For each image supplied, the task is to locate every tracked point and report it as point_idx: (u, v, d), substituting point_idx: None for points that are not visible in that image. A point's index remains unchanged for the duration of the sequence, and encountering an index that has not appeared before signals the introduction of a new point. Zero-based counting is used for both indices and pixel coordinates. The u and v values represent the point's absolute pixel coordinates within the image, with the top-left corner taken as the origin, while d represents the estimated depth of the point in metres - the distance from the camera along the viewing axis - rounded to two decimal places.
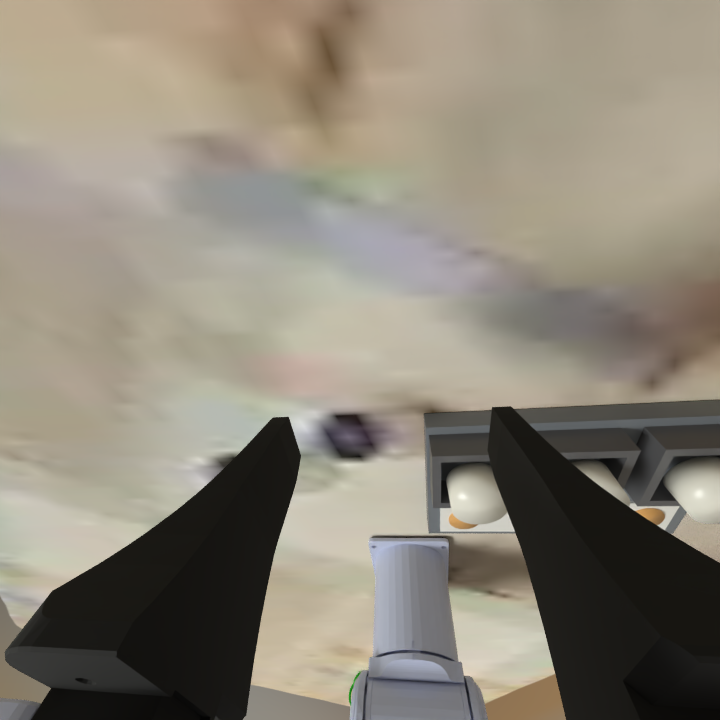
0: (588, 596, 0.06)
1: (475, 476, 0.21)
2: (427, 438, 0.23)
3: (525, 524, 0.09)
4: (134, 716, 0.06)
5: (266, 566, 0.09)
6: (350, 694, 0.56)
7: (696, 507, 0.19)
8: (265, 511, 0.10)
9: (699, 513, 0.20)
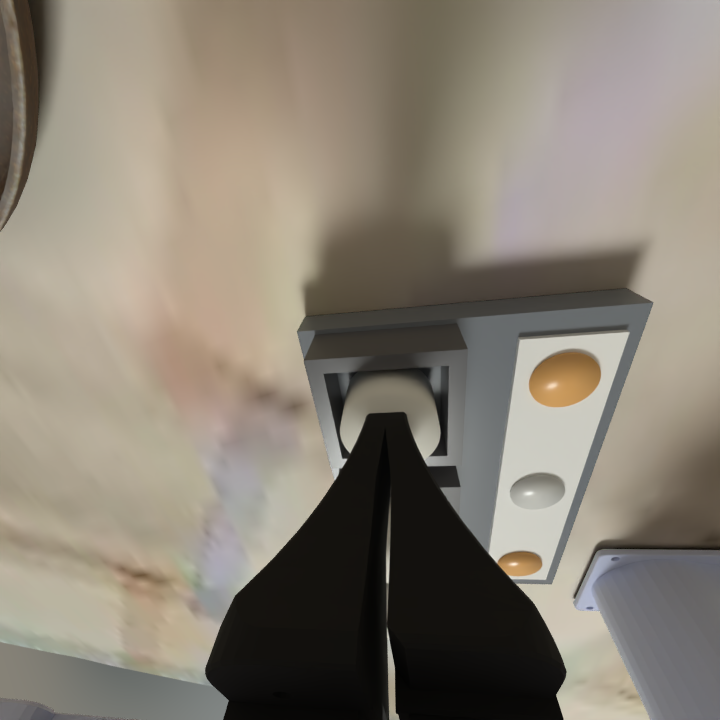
0: None
1: None
2: None
3: None
4: None
5: (385, 568, 0.09)
6: None
7: None
8: (382, 510, 0.09)
9: None
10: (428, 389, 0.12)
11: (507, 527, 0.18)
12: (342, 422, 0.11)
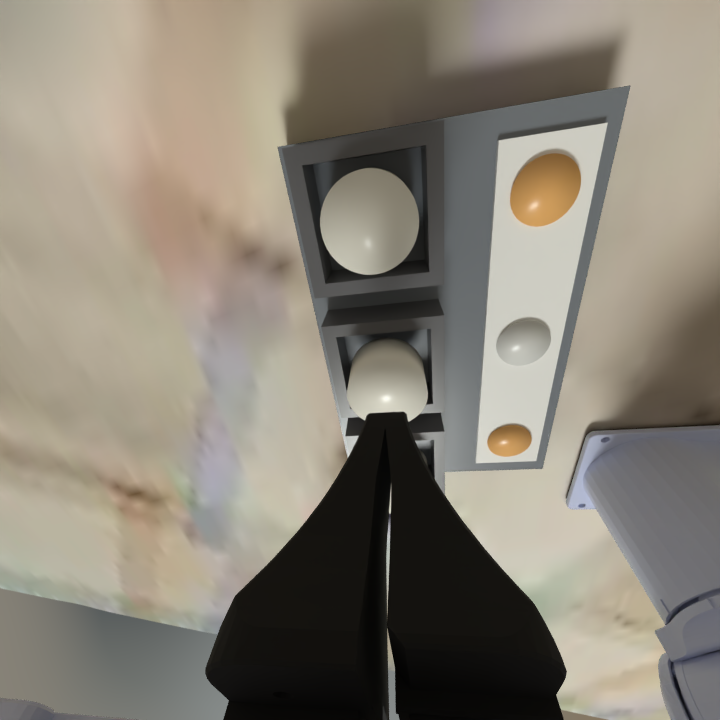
0: None
1: None
2: None
3: None
4: None
5: (385, 568, 0.09)
6: None
7: (377, 265, 0.12)
8: (382, 510, 0.09)
9: (391, 254, 0.12)
10: None
11: (495, 393, 0.18)
12: (322, 211, 0.12)
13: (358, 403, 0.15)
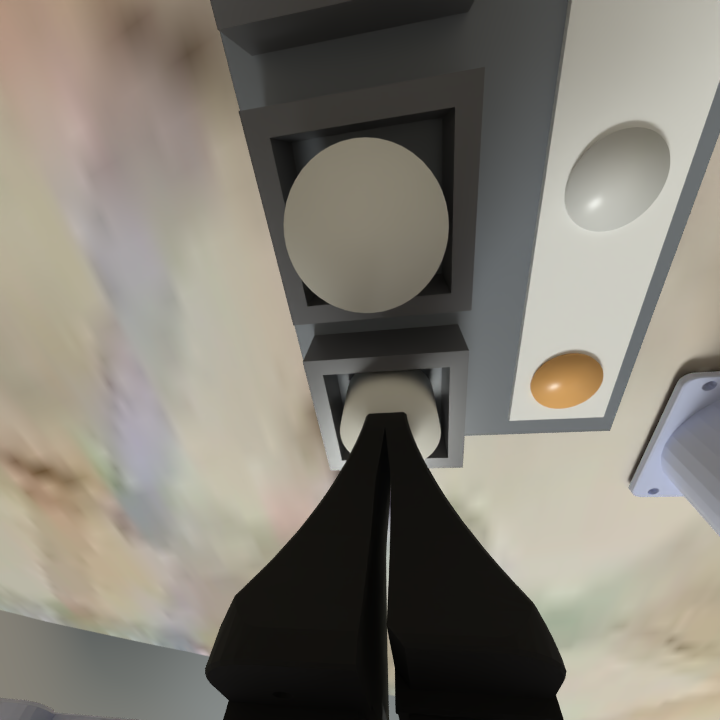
0: None
1: None
2: None
3: None
4: None
5: (385, 568, 0.09)
6: None
7: None
8: (382, 510, 0.09)
9: None
10: None
11: (553, 292, 0.11)
12: None
13: (308, 257, 0.07)
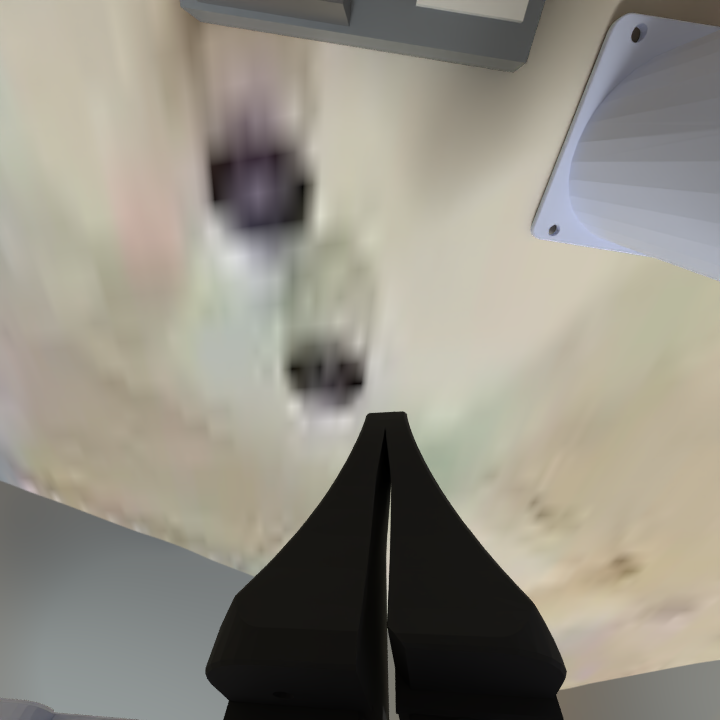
0: None
1: None
2: (208, 7, 0.12)
3: None
4: None
5: (384, 568, 0.09)
6: None
7: None
8: (382, 510, 0.09)
9: None
10: None
11: None
12: None
13: None
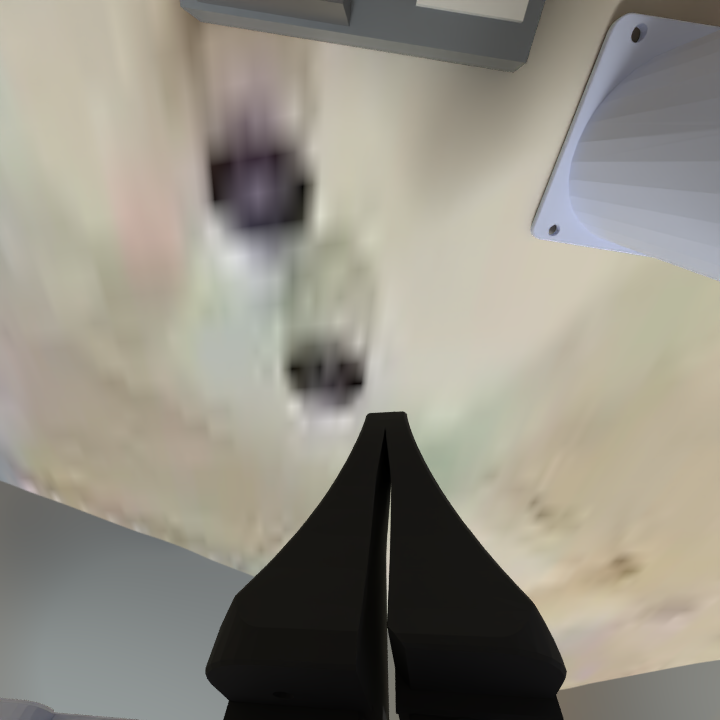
0: None
1: None
2: (208, 7, 0.12)
3: None
4: None
5: (385, 568, 0.09)
6: None
7: None
8: (382, 510, 0.09)
9: None
10: None
11: None
12: None
13: None
